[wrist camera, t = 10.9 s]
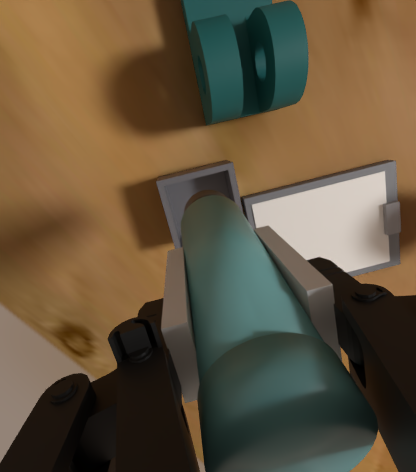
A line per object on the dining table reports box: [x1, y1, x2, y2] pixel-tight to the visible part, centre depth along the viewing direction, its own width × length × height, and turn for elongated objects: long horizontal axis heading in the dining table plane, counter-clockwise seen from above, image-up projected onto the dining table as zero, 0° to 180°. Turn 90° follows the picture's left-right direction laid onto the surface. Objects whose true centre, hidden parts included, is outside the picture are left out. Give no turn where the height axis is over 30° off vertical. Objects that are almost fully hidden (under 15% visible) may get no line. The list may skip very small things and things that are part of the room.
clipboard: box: [242, 160, 401, 277], centre depth 31 cm, size 11×15×2 cm
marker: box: [181, 190, 378, 472], centre depth 13 cm, size 4×4×14 cm
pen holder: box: [156, 160, 243, 249], centre depth 28 cm, size 7×7×4 cm
